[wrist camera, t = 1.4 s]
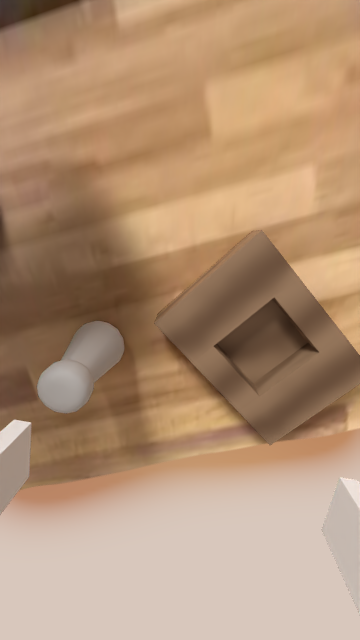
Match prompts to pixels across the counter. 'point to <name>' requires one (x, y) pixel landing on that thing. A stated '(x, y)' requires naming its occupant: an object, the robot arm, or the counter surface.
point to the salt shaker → (80, 367)
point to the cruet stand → (262, 339)
